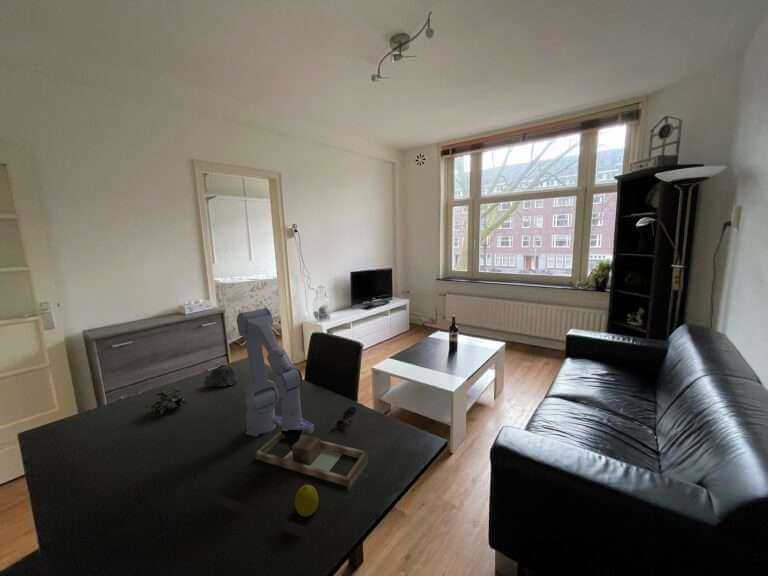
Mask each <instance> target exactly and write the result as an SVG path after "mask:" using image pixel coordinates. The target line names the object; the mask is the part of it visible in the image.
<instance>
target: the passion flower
mask: <svg viewBox="0 0 768 576" xmlns="http://www.w3.org/2000/svg"><path fill="white" fill-rule="evenodd" d="M171 389H172V390H173V391H174V392H170V391H167V390H161V391H160V393H159V392H155V395H156V396H159V398H160V400H157V401H155V403H154V404H152V405H149V404H145V409H146V410H147V409H148V407H150V410H151V411H153V410H154V411H153V415H155V414H156V412H157V411H158V408H160V407H161V408H160V409H159V411H160V415H161V416H162V414H163V413H164V412H165V411H166V408H167V407H168V405H169V404H170V403H175V405H176V407H178V406H180V407H181V408H182V407H183V405H185V404H187V402H188V401H186V400H185V398H184V397H183V396H181V395H180V394H177V392H179V393H181V392H182V390H180V389H179V388H178V387H177V388H176V387H171ZM164 402H166V403H165V405H163V403H164ZM180 407H179V408H180Z"/></svg>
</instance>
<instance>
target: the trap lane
mask: <svg viewBox="0 0 768 576" xmlns="http://www.w3.org/2000/svg"><path fill="white" fill-rule="evenodd" d="M281 431H282V429H281V430H280V431H279V432H277V434H275V435H274V436H273V437H272V438H270V439H269V441H267V442H266V443H265V444H263V446H262V447H260V448H259V449H258V450H257V451H256V452H254V454H255V460H258V461H262V462H264V463H268V464H271V465H275V466H278V467H281V468H285V469H288V470H292V471H295V472H298V473H302V474H304V475H308V476H311V477H314V478H318V479H322V480H324V481H328V482H332V483H335V484H338V485H340V486H344V487H347V489H346V490H345V491H346V492H350V490H351V489H352V488H353V486H354V485H355V482H356V481H357V480H358V478H359V477H360V475H361V473H362V472H363V470H364V468H366V465H367V464H368V460H369V459H368V451H365V450H362V449H358V448H353V447H350V446H346V445H345V446H344V445H343V444H342V445H341V444H337V443H333V442H329V441H325V440H321V439H320V443H321V454H320V455H319V456H318V457H317V458H316V460H315V461H314V462H313V463H312V464H311V465H310V466H308V465H305V464H302V463H298V462H295V461H293V455H292V450H290V451H289V452H288V454H287V455H285V456H284V457H280V456H277V455H274V454H270V453H268V451H270V450H271V449H272V448H273V447H274V446H275V445H277V444H278V443H279V442H280V441H282V439H283V440H286V438H285V437H284V436H283V435H282V434H281ZM302 436H303V435H302V434H301V436H300V438H301V437H302ZM343 455H344V456H350V457H352V458H357V459H358V460H357V461H356V462H355V464H354V465H353V466H352V468H351V470H350V471H349V472H348V474H347V475H343V474H339V473H335V472H333V471H331V470H332V468H333V467H334V465H335V464H336V463H337V462H338V461H339V459H340V458H341V456H343Z"/></svg>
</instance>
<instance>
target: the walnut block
mask: <svg viewBox="0 0 768 576" xmlns="http://www.w3.org/2000/svg"><path fill="white" fill-rule="evenodd" d="M320 440H321V438H319V437H316V436H313V435H307V434H303V435H302V437H301V438H300V439H299V440H298V441H297V442H296V443H295V444H293V445H292V450H291V451H292V455H293V461H295V462H298V463H302V464H305V465H308V466H310V465H311V464H312V463H313V462H314V461H315V460H316V458H317V457H318V456H319V455H320V454H321V443H320Z"/></svg>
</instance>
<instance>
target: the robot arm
mask: <svg viewBox="0 0 768 576" xmlns="http://www.w3.org/2000/svg"><path fill="white" fill-rule="evenodd" d="M236 325H237V330H238V334H239V336H240V337H244V341H245V346H246V351H247V358H248V365H249V368H250V369H249V370H250V376H251V383H250V384H249V386H247V387H246V389H245V391H244V392H245V393H244V394H245V406H246V408H247V410H246V413H245V422H246V429H247V431H246V432H245V434H246V435H247V436H248V435H249V436H252V437H255V438H256V437H258V436H259V435H261V434H267V433H269V432H271V431H273V430H275V428H276V426H277V425H278V426H280V427H281V430H282V431H281V430H280V431H281V434H282V435H283V436H284V437H285V438H286V439H285V440H286V442H287V444H288V447H289V448H290V451H292V445H293V444H295V443H296V442H297V441H298V440H299V439H300V436H301V435H302V433H303V431H304V432H307V433H308V434H310V435H311V434H313V432H314V431H315V424H314V423H311V422H310V421H308V420H306V419H305V418H303V416H302V404H301V392H300V391H301V390H300V386H302V384H303V383H304V382H303V380H304V379H303V374H302V373H301V370H300V368H299V367H297V366H296V365H295V364H293V363H292V361H291V359H290V357H289V355H288V354H287V351H286V350H285V349H284V348H282V347H280V346H279V343H278V341H277V338H276V335H275V333H274V331H273V314H272V311H271V310H270V309H269V308H267V307H264V308H260V309H255V310H251V311H245V312H239V313H238V314H237V317H236ZM262 345H263V346H264V348H265V350H266V351H267V353H268V354H267V357H266V359H267V362H268V363H269V366H270V368H271V371H272V372H273V375H274V376H275V378H274V381H273V380H271V379H268V374H267V370H266V369H267V368H266V363H265V358H264V353H263V352H264V351H263V346H262ZM279 400H280V409H281V410H280V411H281V415H276V414H275V413H276V412H275V411H276V410H275V407H276V406H277V403H278V402H279Z"/></svg>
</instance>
